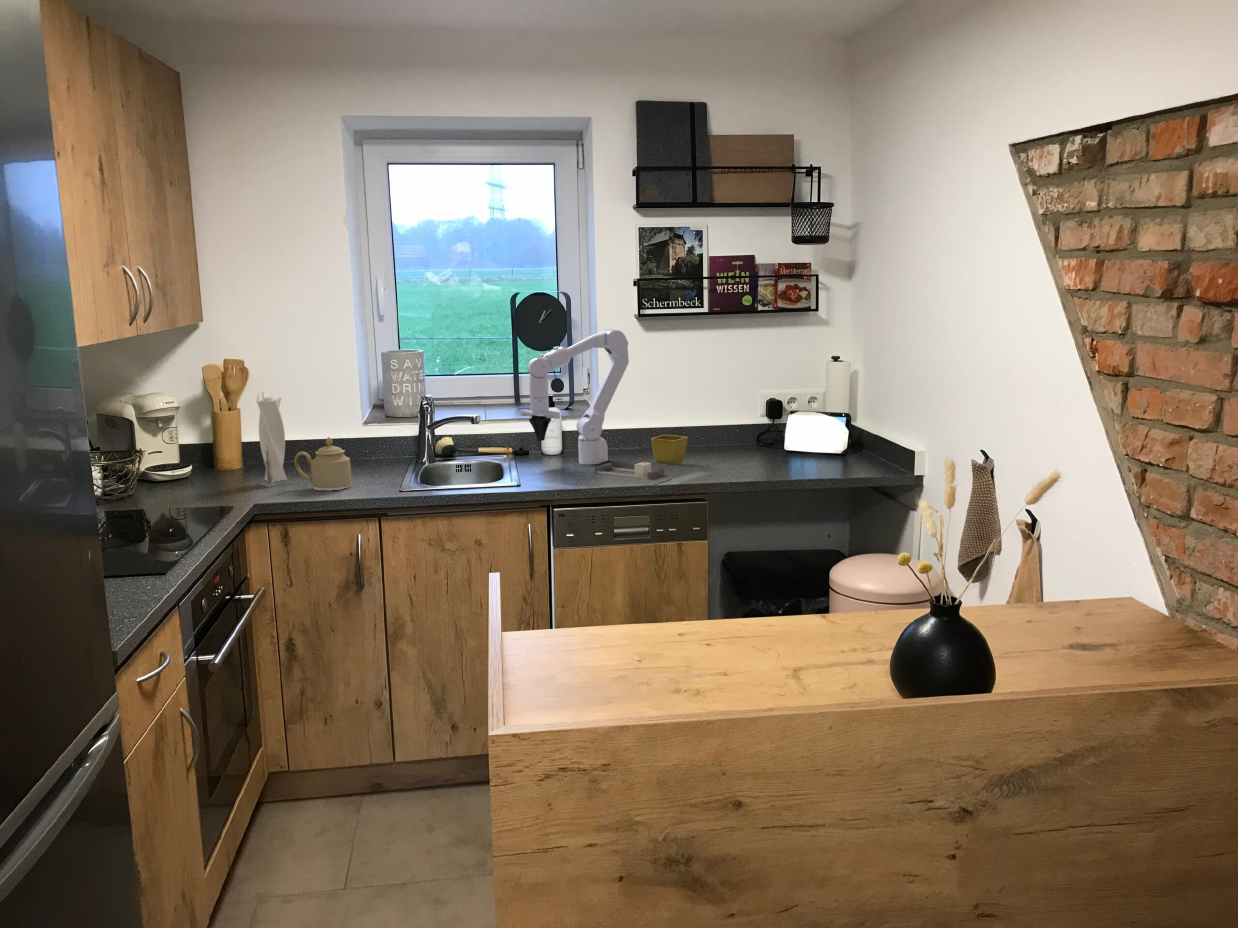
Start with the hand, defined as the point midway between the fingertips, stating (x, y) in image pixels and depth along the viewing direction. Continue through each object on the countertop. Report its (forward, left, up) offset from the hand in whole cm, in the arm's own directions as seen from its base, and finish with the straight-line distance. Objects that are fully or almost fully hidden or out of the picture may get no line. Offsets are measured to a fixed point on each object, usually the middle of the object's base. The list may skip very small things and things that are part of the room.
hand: (540, 440), depth 302 cm
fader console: (-2, +32, -9) cm, 33 cm away
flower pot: (-26, +31, -10) cm, 42 cm away
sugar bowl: (+53, -38, -10) cm, 66 cm away
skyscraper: (+56, -58, -10) cm, 81 cm away
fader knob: (-2, +37, -8) cm, 38 cm away
